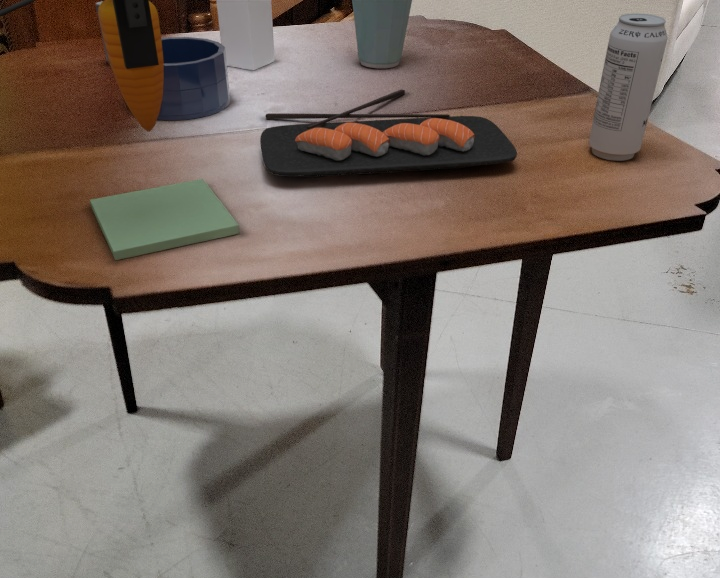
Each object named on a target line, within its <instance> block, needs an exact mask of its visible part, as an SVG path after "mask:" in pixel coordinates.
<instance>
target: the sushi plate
mask: <svg viewBox="0 0 720 578" xmlns="http://www.w3.org/2000/svg"><path fill="white" fill-rule="evenodd" d="M405 93H406V90H405V89H398V90H396V91H394V92H391V93H388V94H386V95H383V96H381V97H378V98H375V99H373V100H371V101H368V102H366V103H364V104H361V105H359V106H356V107H354V108H352V109H348V110H346V111H344V112H341V113H291V112H290V113H284V112H283V113H281V112H280V113H279V112H278V113H277V112H276V113H271V112H270V113H266V114H265V119H266V120H309V119H312V120H313V119H315V120H316V119H319V120H320V121H318V122H314V123H299V124H285V125H277V126H271V127H268V128H265V129H264V130H262V132H261V134H260V139H259V141H260V148H261V149H260V151H261V158H262V162H263V166H264V168H265V169H266V170H267V172H268V173H270V174H272V175H274V176H279V177H281V176H282V177H307V178H309V177H310V178H311V177H312V178H314V177H333V176H334V177H335V176H352V175H368V174H383V173H384V174H385V173H400V172H416V171H417V172H418V171H433V170H448V169H450V170H451V169H465V168H472V167H473V168H474V167H479V166H488V165H498V164H506V163H509V162H513V161H515V160H516V158H517V157H518V152H517V149H516V147H515V145H514V144H513V143H512V142H511V140H510V139H509V138H508V136H506V134H505V132H503V131H502V130H501V128H500V127H498V126H497V125H496V124H495V123H494V122H493V121H492V120H490V119H489V118H486V117H483V116H476V115H475V116H474V115H453V116H452V115H451V114H448V113H446V114H443V113H442V114H441V113H439V114H436V113H435V114H433V113H425V114H424V113H422V114H420V113H418V114H417V113H416V114H415V113H411V114H410V113H409V114H407V113H406V114H405V113H402V114H401V113H356V112H358V111H362V110H364V109H367V108H370V107H374V106H376V105H379V104H382V103H384V102H386V101H389V100H392V99H395V98H398V97H401V96H403V95H405ZM382 118H383V119H382ZM384 118H386V119H384ZM387 118H388V119H387ZM389 118H391V119H389ZM392 118H393V119H392ZM321 119H323V120H321ZM336 119H372V120H355V121H354V120H353V121H335V122H334V120H336ZM373 119H375V120H373ZM331 121H333V122H331Z"/></svg>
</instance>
